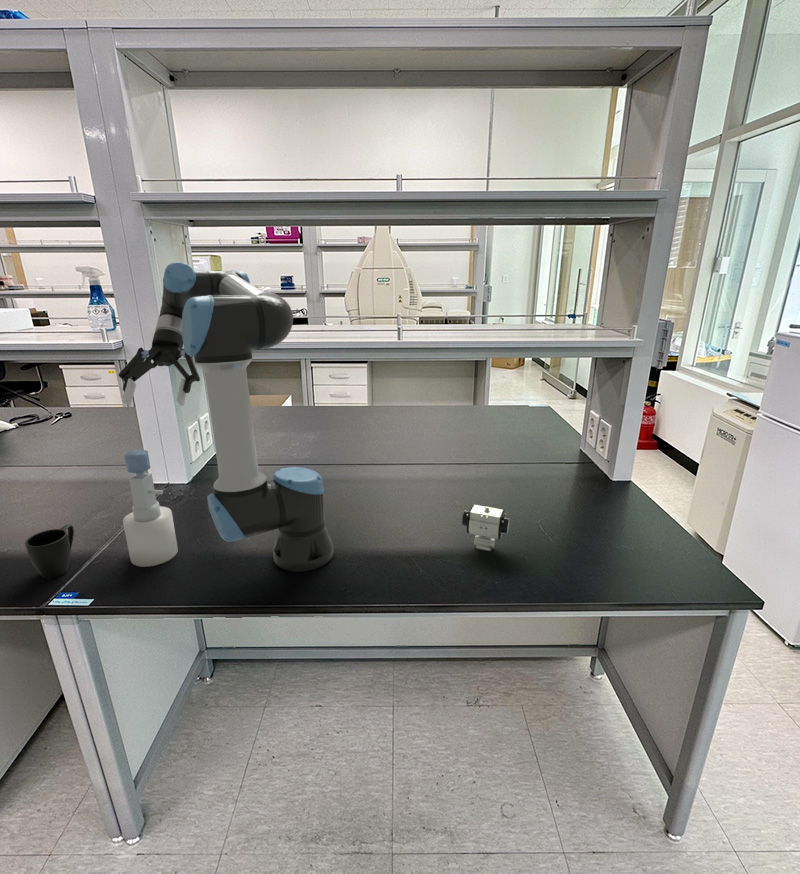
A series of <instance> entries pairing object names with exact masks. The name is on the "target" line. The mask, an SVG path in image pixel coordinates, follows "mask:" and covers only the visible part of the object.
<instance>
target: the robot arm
mask: <svg viewBox="0 0 800 874" xmlns="http://www.w3.org/2000/svg"><path fill="white" fill-rule="evenodd" d="M161 296H162V297H161V298H162V299H161V307H160V311H159V316H158V319H157V323H156V326H155V329H154V333H153V338H152V342H151V347H150V349H149V350H148V349H144V348H143V347H139V348H138V349H137V352H136V354H135V355H134V356H133V358H131V360H129V362H128V363H127V364H126V365H125V366H124V367H123V368H122V369H121V371H120V372H119V373H118V375H117V376H118V377H119V378H120V379H121V381H123V382H124V383H123V386H122V391H123V392H124V393H123V396H122V402H123V403H124V404H126V406H128V407H129V406H131V405H132V402H133V397H134V394H135V390H136V387H137V384H136V381H137V380H138V379H140V378H142V377H143V376H144V375H146V373H148V372H149V371H150V370H152V369H155V368H156V367H157V366H158V367H171V366H174V367H175V368H176V369H177V370H178V372H179V373H180V374H181V375H182V377H183V378H181V379H180V384H179V387H178V391H177V392H178V393H177V398H176V401H177V403H178V404H179V405H180V406H182V407H183V406H184V405H185V401H186V398H187V397H186V396H187V394H189V393H190V392H191V388H192V384H193V383H194V382H197V383H198V382H200V380H201V378H200V375H199V372H198V370H197V367H196V366H198V367H199V368H200V369H202V371H203V373H204V380H205V385H206V395H207V399H208V400H207V401H208V406H209V412H210V413H209V414H210V421H211V428H212V434H213V443H214V448H215V455H216V461H217V469H218V470H217V471H218V477H217V479H216V480H215V482H214V483H213V490H214V492H212V493H210V494H208V495H207V496H206V497H207V498H206V499H207V505H208V510H209V512H210V516H211V519H212V520H213V521H212V522H213V524H214V526H215V528H216V530H217V532H218V534H219V536H220V537H221V539H222V540H224V541H225V542H228V543H230V542H236V541H239V540H246V539H248V538H251V537H254V536H257V535H261V534H264V533H267V532H271V531H274V530H278V531H277V535H276V538H275V543H274V545H273V548H272V549H273V550H272V555H273V562H274V563H275V565H276V566H278V567H279V568H280V569H282V570H285V571H287V572H289V571H290V572H301V573H302V572H308V571H312V570H316V569H319V568H321V567H323V566H324V565H326V564H328V563H329V562H330V561H331V560H332V558H333V556H334V543H333V541H332V538H331V536H330V534H329V531H328V529H327V527H326V520H325V519H326V517H325V516H326V514H325V495H324V493H325V488H324V483H323V478H322V476H321V474H319V472H317V471H315V470H313V469H310V468H306V467H301V466H291V467H282V468H279V469H278V470H276V471H275V472H274V474H273V476H272V479H270V480H268V479H267V476H266V475H265V474H264V473H262V472H261V471H259V470H260V469H259V463H258V454H257V447H256V438H255V430H254V421H253V414H252V413H253V412H252V404H251V398H250V390H249V381H248V372H247V367H248V366H249V365H250V363H252V361H253V352H252V351H258V350H265V349H270V348H273V347H276V346H277V345H279V344H280V343H282V342H283V341H284V340H285V339H286V338H288V336H289V334H290V332H291V330H292V327H293V323H294V315H293V311H292V307H291V306H290V304H289V303H288V302H287V301H286V300H285V299H284V298H283V297H282V296H280V295H278V294H277V293H275V292H272V291H263V290H262V289H260V288H258V287H256V286H255V285H253V284H251V283H250V279H249V275H248V274H247V273H246V272H245V271H241V270H239V271H238V270H218V271H217V270H214V271H211V270H195V269H194V268H193V267H192V266H191V265H189V264H188V263H184V262H183V261H182V262H181V261H174V262H171V263H169V264H168V265H167V266H166V267H165V269H164V273H163V279H162V295H161ZM182 357H183V358H184V359H185V360H186V363H187V365H188V368H189V371H190V372H191V374H189V373H188V372H187V371H186V370H185V368H184V367H183V366H182V364H181V363H180V362H179V359H181V358H182ZM193 359H194V360H193ZM194 362H195V363H194Z"/></svg>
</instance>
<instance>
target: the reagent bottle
mask: <svg viewBox="0 0 800 874" xmlns="http://www.w3.org/2000/svg"><path fill="white" fill-rule="evenodd" d="M143 473H144V477H143V478H142V479H141V478H137V476H136V473H134V475H132V476H130V477H128V482H129V488H130V492H131V498H132V503H133V505H132V507H131V509H132V512H130V513H128V514H126V515H125V516H124V518H123V519H122V524H123V529H124V534H125V539H126V544H127V549H128V555H129V559H130V562H131V564H133V566H137V567H141V568H142V567H144V568H146V567H154V566H158V565H160V564H164V563H167V562H168V561H170V560H172V559H173V558H175V556H177V554H178V551H179V549H178V548H179V547H178V541H177V536H176V531H175V525H174V517H173V512H172V510H171V508H169V507H167V506H161V505H160V503H159V501H158V500H157V497H156V495H163V493H164V491H163V490H162V489H155V485H154V478H153V473H146V472H143Z"/></svg>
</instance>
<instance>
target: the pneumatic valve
mask: <svg viewBox="0 0 800 874" xmlns="http://www.w3.org/2000/svg"><path fill="white" fill-rule="evenodd" d="M461 523H462V526H463V527H465V529H466V533H468V534H470V535H471V534H472V535H475V536H474V538H473V544H474V545H475V548H476V549H477V550H481V551H486V552H491V551H492V549H494V548H495V545H496V540H501V539H502V537H503V534H505V535H508V533H509V530H510V523H511V517H510V516H507V513H506V509H501V508H495V507H489V506H488V505H487V506H483V505H479V504H471V505H470V507H469V509H467V508H466V509H464V511H463V514H462V520H461Z"/></svg>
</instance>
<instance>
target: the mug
mask: <svg viewBox="0 0 800 874" xmlns="http://www.w3.org/2000/svg"><path fill="white" fill-rule="evenodd" d="M74 536H75V529H74V526H73V525H72V524H66V525H64V526H62V527H61V528H54V529H47V530H44V531H40V532H37V533H35V534H33V535H31V536H29V537H28V538H27V539H26V540H25V542H24V543H25V544H24V546H25V549H26V552H27V556H28V558H29V560H30V562H31V564H32V566H33V568H35V570H36V571H37V573H38V574H39V575H40V576H41V578H43V579H47V580H48V579H55V578H58V577H60V576H62V575H65V574H66V573H67V572H68V571H69V569H70V559H71V550H72V545H73V542H74Z"/></svg>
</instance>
